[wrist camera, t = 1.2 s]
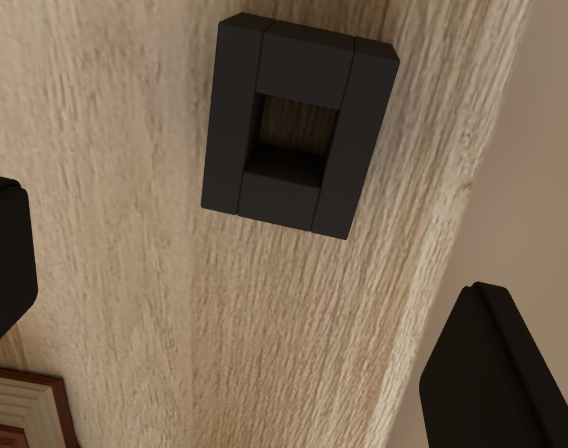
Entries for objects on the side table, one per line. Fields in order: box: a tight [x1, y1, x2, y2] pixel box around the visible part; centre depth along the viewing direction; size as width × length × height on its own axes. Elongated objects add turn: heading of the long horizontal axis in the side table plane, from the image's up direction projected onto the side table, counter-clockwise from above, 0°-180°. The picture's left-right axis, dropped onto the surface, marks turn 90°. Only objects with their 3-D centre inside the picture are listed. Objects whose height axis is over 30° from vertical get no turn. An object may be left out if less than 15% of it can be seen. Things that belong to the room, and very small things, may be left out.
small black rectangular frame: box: [201, 12, 400, 240], centre depth 18 cm, size 6×7×3 cm
